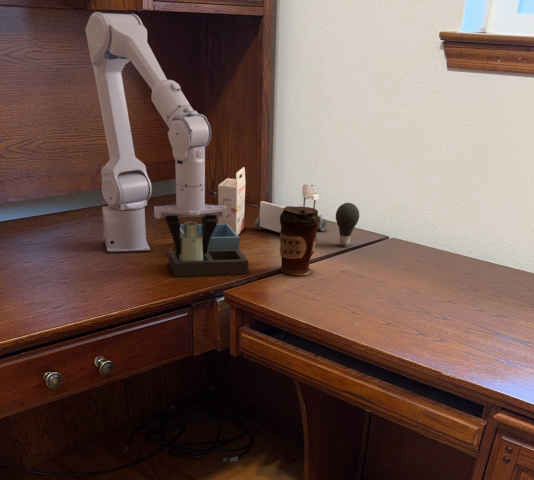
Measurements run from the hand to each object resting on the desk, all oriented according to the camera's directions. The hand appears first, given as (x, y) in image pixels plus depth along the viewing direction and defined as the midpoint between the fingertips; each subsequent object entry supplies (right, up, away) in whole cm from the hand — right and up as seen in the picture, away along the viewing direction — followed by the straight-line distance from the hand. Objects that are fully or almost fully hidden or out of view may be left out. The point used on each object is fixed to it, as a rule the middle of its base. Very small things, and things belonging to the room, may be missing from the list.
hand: (191, 252), depth 140 cm
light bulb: (+35, +9, +22) cm, 42 cm away
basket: (+2, +5, +13) cm, 14 cm away
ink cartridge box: (+7, +14, +27) cm, 31 cm away
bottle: (0, -3, +2) cm, 3 cm away
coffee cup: (+22, -3, +5) cm, 23 cm away
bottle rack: (+3, -2, +3) cm, 5 cm away
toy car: (+23, +17, +32) cm, 43 cm away
